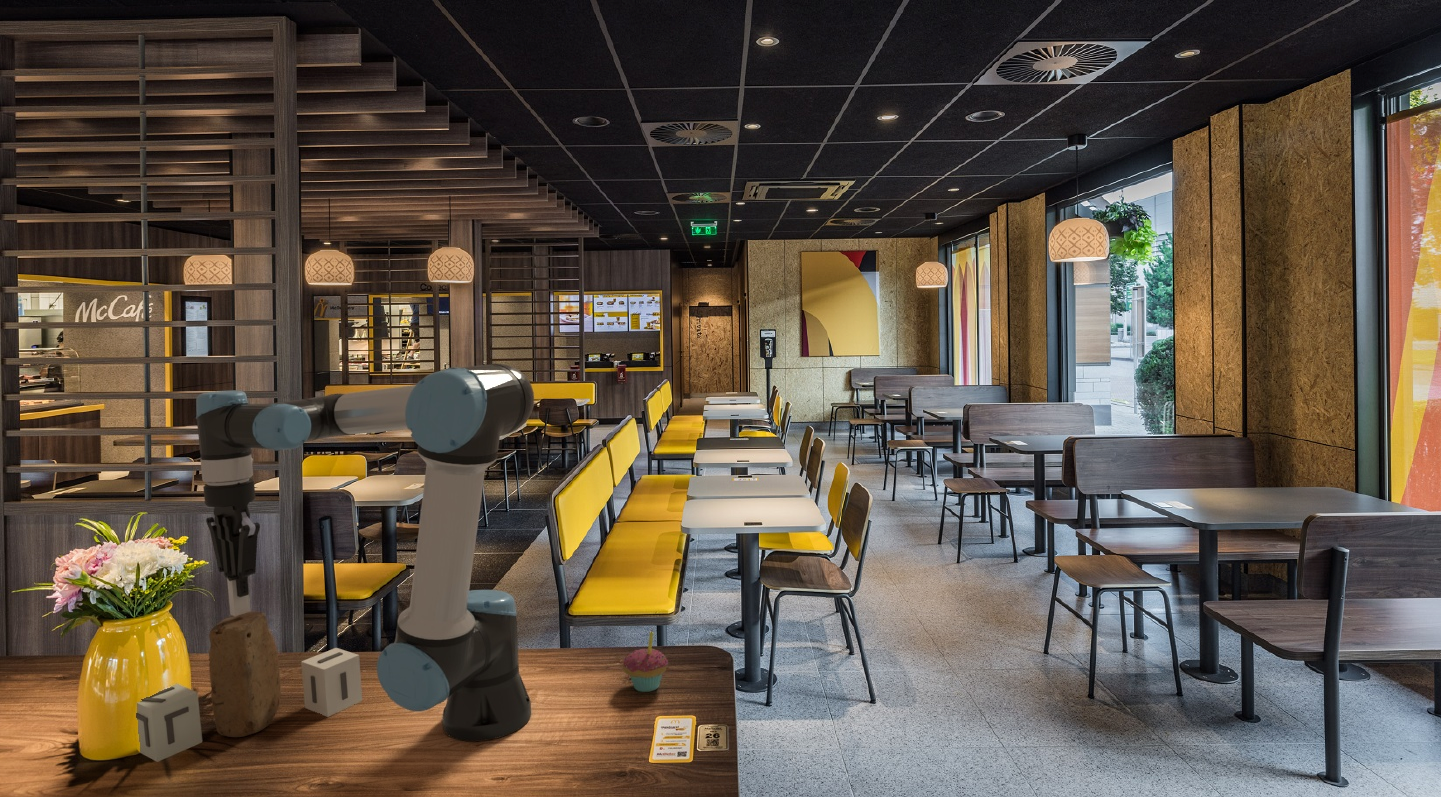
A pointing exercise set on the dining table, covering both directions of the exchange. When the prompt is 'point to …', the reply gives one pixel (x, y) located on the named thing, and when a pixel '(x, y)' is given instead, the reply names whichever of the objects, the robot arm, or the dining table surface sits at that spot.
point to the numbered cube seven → (168, 722)
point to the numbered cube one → (331, 681)
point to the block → (243, 674)
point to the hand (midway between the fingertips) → (240, 612)
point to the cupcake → (645, 667)
